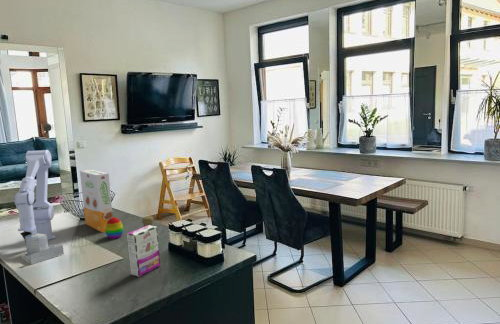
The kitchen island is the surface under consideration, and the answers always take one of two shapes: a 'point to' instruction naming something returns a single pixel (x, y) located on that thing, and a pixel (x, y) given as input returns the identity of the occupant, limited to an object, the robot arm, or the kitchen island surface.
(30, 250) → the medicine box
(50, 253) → the jig bracket
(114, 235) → the decorative egg
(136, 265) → the candy bar box
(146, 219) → the cork
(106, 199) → the cereal box
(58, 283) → the kitchen island surface
